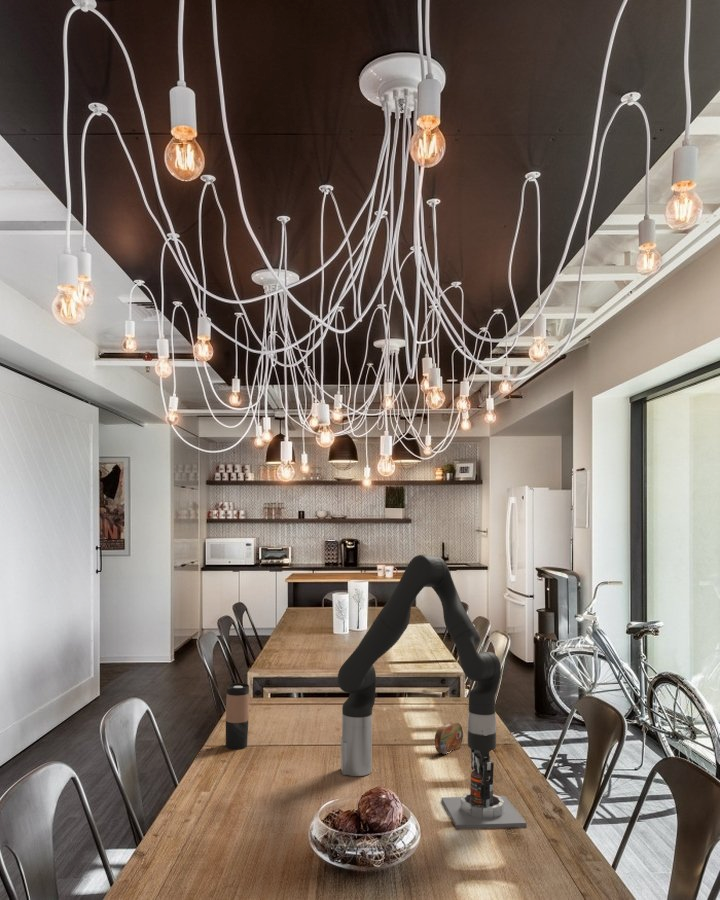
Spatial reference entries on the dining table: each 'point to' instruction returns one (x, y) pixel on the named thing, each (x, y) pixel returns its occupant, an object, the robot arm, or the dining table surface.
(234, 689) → the travel mug
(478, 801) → the supplement bottle
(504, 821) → the duct base board
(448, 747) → the tin
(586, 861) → the dining table surface
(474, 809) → the collar
